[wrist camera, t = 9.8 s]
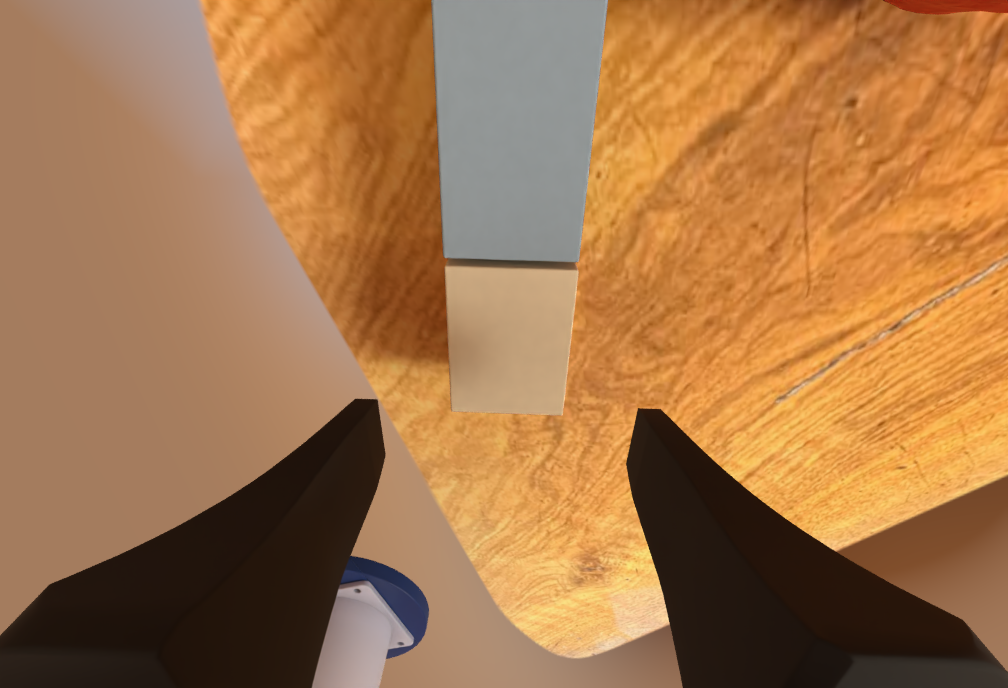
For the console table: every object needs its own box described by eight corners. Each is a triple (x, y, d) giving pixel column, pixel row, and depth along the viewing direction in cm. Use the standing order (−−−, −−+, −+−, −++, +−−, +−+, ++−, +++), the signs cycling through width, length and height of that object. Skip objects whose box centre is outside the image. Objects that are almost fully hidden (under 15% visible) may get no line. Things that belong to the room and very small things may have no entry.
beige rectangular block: (556, 368, 20) (562, 416, 17) (461, 364, 20) (450, 412, 17) (568, 239, 17) (579, 270, 14) (456, 236, 17) (444, 266, 14)
